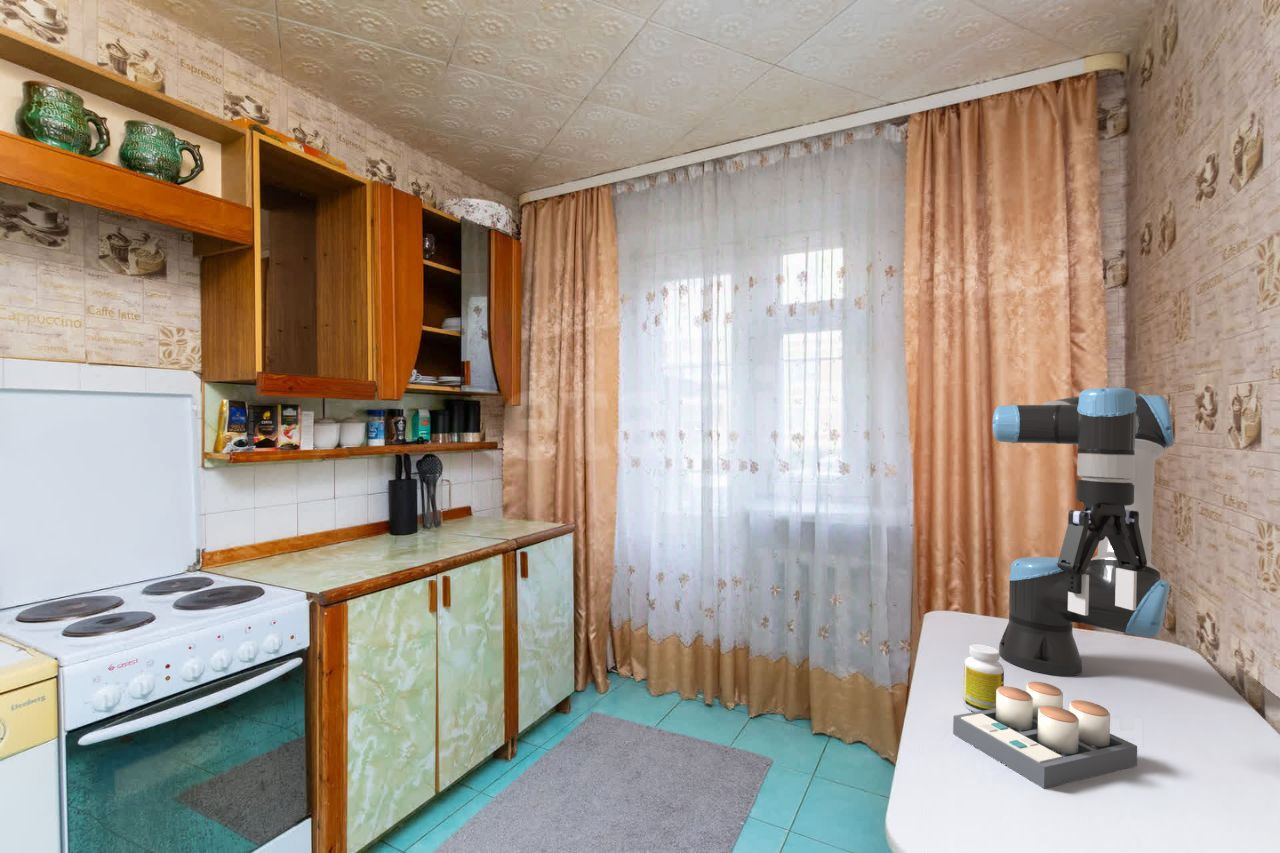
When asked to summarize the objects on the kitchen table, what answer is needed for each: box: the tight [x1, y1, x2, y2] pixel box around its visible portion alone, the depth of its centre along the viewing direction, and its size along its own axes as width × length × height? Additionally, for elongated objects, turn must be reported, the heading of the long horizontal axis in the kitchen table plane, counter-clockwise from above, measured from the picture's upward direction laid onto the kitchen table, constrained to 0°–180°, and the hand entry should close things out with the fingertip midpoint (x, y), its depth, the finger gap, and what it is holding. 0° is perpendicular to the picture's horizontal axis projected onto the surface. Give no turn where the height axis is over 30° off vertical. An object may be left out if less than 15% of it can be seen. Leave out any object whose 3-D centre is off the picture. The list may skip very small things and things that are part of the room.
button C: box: [996, 685, 1033, 730], centre depth 92 cm, size 5×5×5 cm
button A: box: [1025, 681, 1064, 720], centre depth 95 cm, size 5×5×5 cm
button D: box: [1037, 706, 1079, 754], centre depth 86 cm, size 5×5×5 cm
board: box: [952, 708, 1138, 790], centre depth 90 cm, size 20×15×3 cm
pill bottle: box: [963, 643, 1005, 713], centre depth 102 cm, size 6×6×11 cm
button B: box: [1068, 699, 1111, 747], centre depth 88 cm, size 5×5×5 cm
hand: (1102, 610), depth 94 cm, fingers open, 11 cm apart
